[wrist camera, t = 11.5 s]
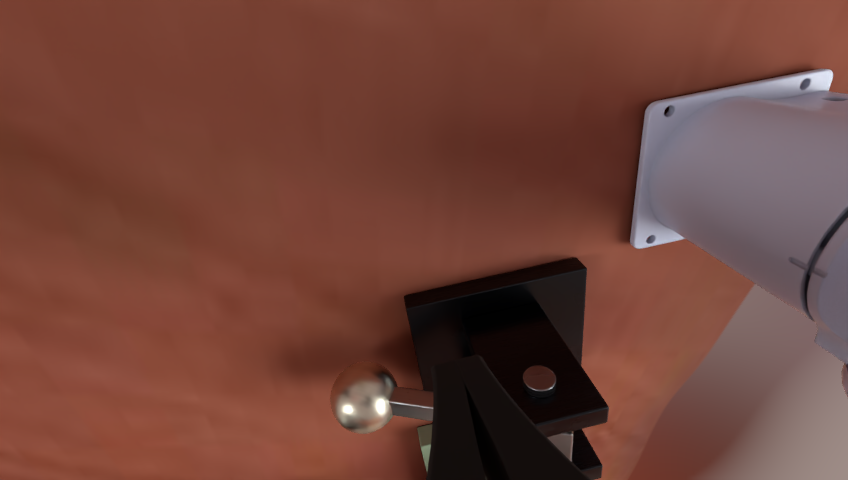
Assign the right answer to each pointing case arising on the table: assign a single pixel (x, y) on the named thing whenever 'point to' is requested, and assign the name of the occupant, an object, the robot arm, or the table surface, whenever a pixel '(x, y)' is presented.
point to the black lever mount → (519, 344)
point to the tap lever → (389, 402)
